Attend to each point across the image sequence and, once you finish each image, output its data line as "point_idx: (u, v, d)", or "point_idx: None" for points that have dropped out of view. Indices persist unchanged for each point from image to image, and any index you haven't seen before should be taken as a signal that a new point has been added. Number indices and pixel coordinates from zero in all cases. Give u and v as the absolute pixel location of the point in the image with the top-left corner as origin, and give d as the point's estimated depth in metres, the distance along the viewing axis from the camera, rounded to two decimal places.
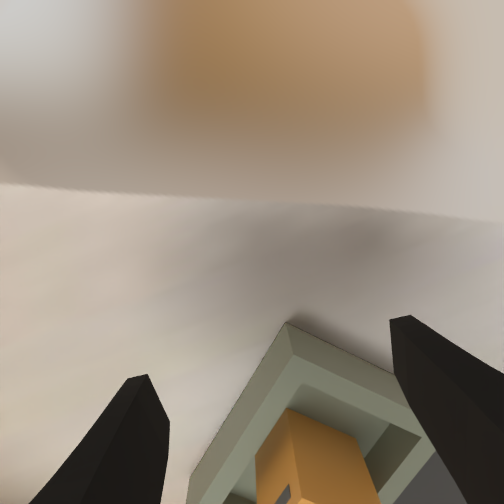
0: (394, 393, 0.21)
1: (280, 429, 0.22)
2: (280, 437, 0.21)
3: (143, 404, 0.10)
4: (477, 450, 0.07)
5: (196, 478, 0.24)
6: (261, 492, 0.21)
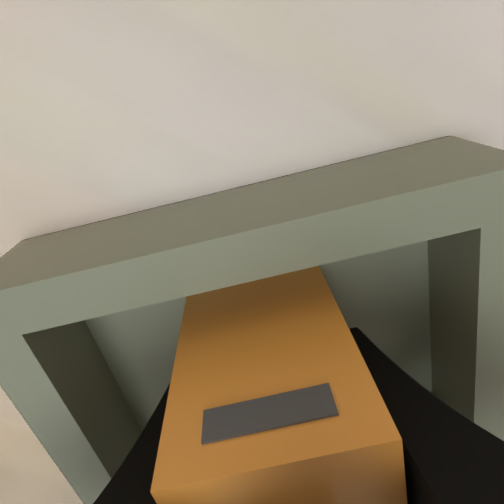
0: None
1: (292, 285, 0.10)
2: (292, 295, 0.10)
3: None
4: None
5: (48, 244, 0.10)
6: (197, 356, 0.09)
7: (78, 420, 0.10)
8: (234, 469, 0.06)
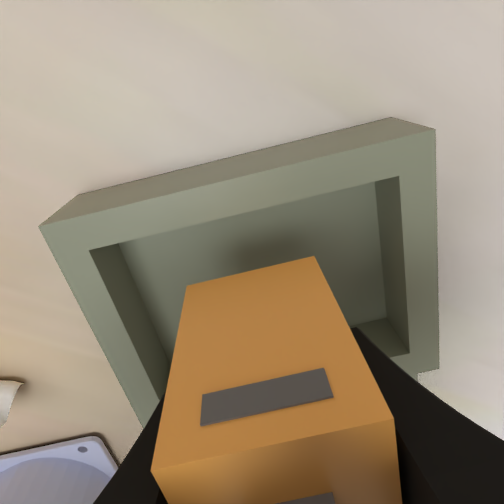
0: None
1: (289, 277, 0.11)
2: (289, 286, 0.10)
3: None
4: None
5: (100, 195, 0.14)
6: (196, 345, 0.09)
7: (122, 319, 0.14)
8: (232, 448, 0.06)
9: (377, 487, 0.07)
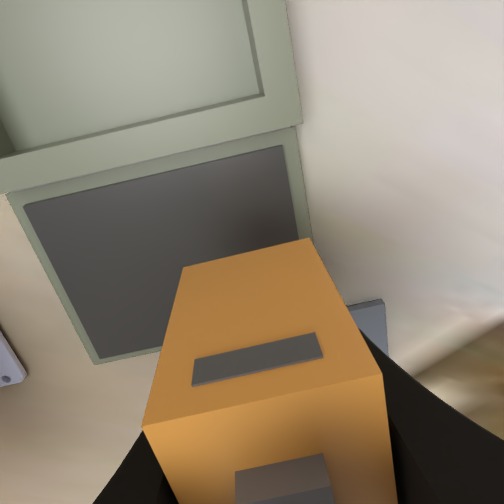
0: None
1: (284, 256, 0.11)
2: (283, 264, 0.10)
3: None
4: (399, 466, 0.07)
5: None
6: (191, 317, 0.09)
7: None
8: (222, 405, 0.06)
9: (367, 448, 0.07)
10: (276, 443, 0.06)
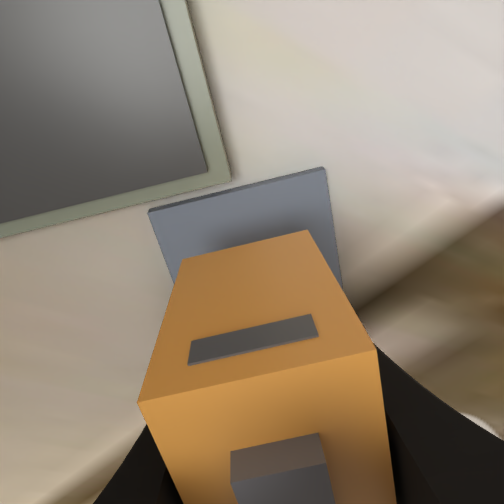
0: None
1: (282, 247, 0.11)
2: (281, 254, 0.10)
3: None
4: (398, 466, 0.07)
5: None
6: (188, 303, 0.09)
7: None
8: (217, 382, 0.06)
9: (363, 428, 0.07)
10: (271, 421, 0.06)
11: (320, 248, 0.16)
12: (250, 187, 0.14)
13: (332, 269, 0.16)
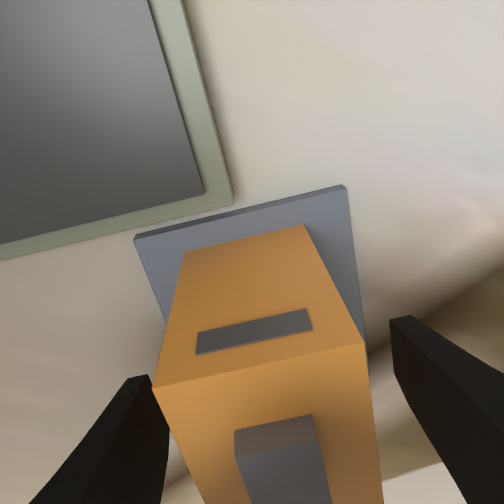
0: None
1: (279, 241, 0.11)
2: (279, 249, 0.11)
3: (143, 404, 0.10)
4: (477, 450, 0.07)
5: None
6: (193, 296, 0.10)
7: None
8: (223, 370, 0.07)
9: (351, 409, 0.08)
10: (270, 404, 0.07)
11: (338, 280, 0.13)
12: (256, 210, 0.12)
13: (352, 303, 0.14)
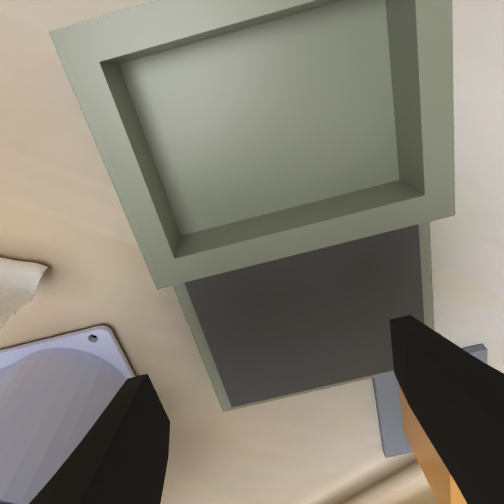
0: None
1: None
2: None
3: (143, 404, 0.10)
4: (477, 450, 0.07)
5: None
6: None
7: (133, 150, 0.14)
8: None
9: None
10: None
11: None
12: None
13: None
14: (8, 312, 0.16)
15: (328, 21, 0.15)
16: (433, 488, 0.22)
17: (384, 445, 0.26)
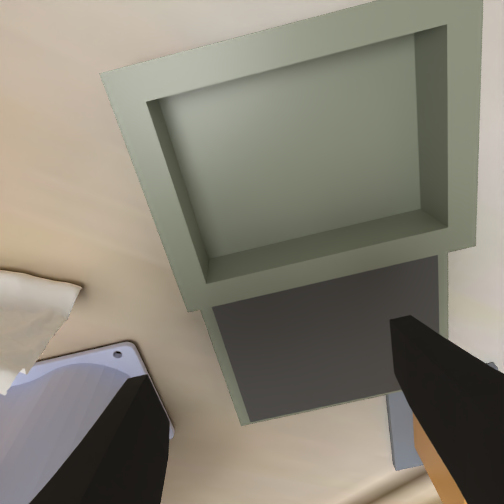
0: None
1: None
2: None
3: (143, 404, 0.10)
4: (477, 450, 0.07)
5: None
6: None
7: (173, 183, 0.15)
8: None
9: None
10: None
11: None
12: None
13: None
14: (48, 334, 0.17)
15: (359, 61, 0.15)
16: (445, 503, 0.23)
17: (395, 458, 0.27)
